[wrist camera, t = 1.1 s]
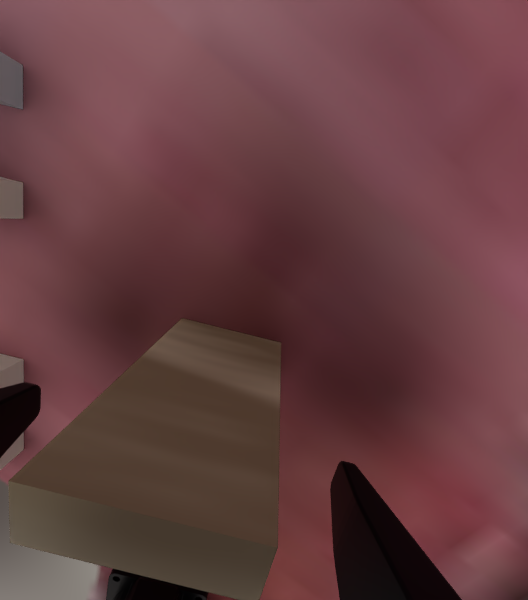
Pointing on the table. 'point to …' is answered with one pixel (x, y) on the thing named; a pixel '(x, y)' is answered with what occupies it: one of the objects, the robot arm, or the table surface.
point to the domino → (168, 468)
